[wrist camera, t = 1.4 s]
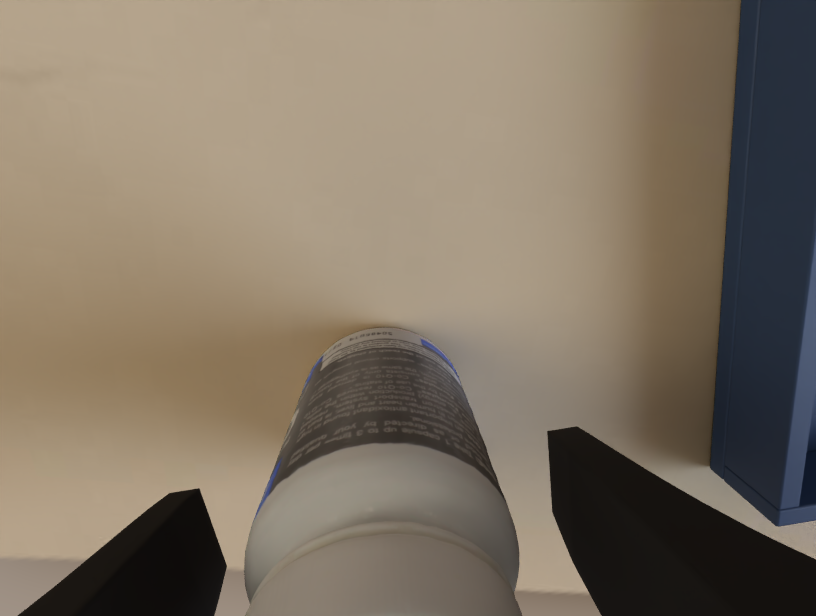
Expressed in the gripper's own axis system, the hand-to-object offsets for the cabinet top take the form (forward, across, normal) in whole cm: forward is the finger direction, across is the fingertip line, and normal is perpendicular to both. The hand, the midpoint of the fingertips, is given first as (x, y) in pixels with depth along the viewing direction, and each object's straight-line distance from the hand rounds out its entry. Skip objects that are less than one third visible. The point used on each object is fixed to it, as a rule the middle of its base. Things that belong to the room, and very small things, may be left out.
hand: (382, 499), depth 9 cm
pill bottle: (+5, 0, 0) cm, 5 cm away
